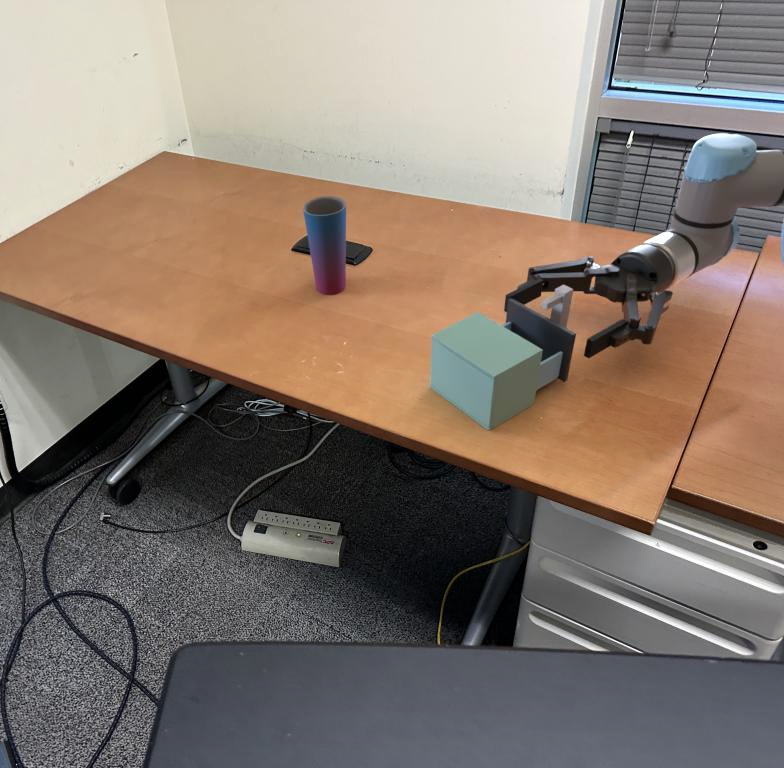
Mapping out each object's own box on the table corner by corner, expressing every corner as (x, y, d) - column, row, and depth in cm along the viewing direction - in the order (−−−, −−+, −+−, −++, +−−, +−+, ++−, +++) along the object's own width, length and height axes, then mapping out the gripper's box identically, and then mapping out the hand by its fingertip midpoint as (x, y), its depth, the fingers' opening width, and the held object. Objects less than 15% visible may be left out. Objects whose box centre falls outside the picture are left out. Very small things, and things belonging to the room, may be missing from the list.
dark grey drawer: (527, 332, 100) (536, 271, 93) (589, 367, 92) (603, 304, 86) (465, 365, 96) (469, 304, 89) (524, 405, 88) (534, 341, 82)
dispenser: (473, 364, 97) (477, 311, 91) (534, 404, 89) (543, 349, 84) (430, 387, 94) (431, 334, 89) (488, 431, 87) (494, 376, 81)
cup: (354, 277, 119) (350, 196, 109) (346, 298, 114) (340, 216, 104) (316, 275, 121) (309, 195, 111) (306, 296, 116) (297, 215, 106)
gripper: (727, 327, 92) (621, 393, 85) (575, 259, 109) (475, 309, 102) (745, 279, 87) (633, 345, 80) (582, 216, 105) (479, 265, 98)
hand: (545, 325), depth 91 cm, fingers open, 13 cm apart
